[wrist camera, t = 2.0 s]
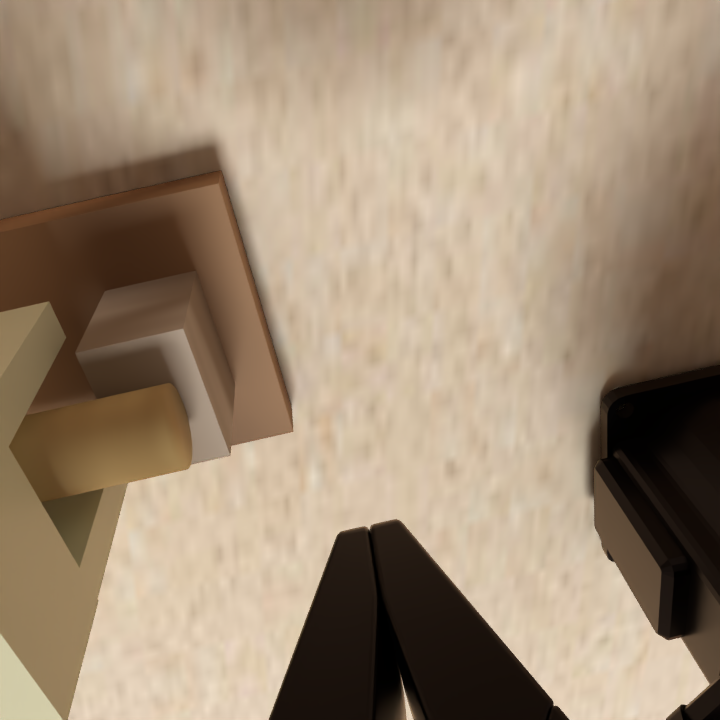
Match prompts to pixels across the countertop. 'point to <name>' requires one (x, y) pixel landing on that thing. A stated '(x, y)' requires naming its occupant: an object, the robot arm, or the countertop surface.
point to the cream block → (43, 542)
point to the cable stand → (141, 337)
